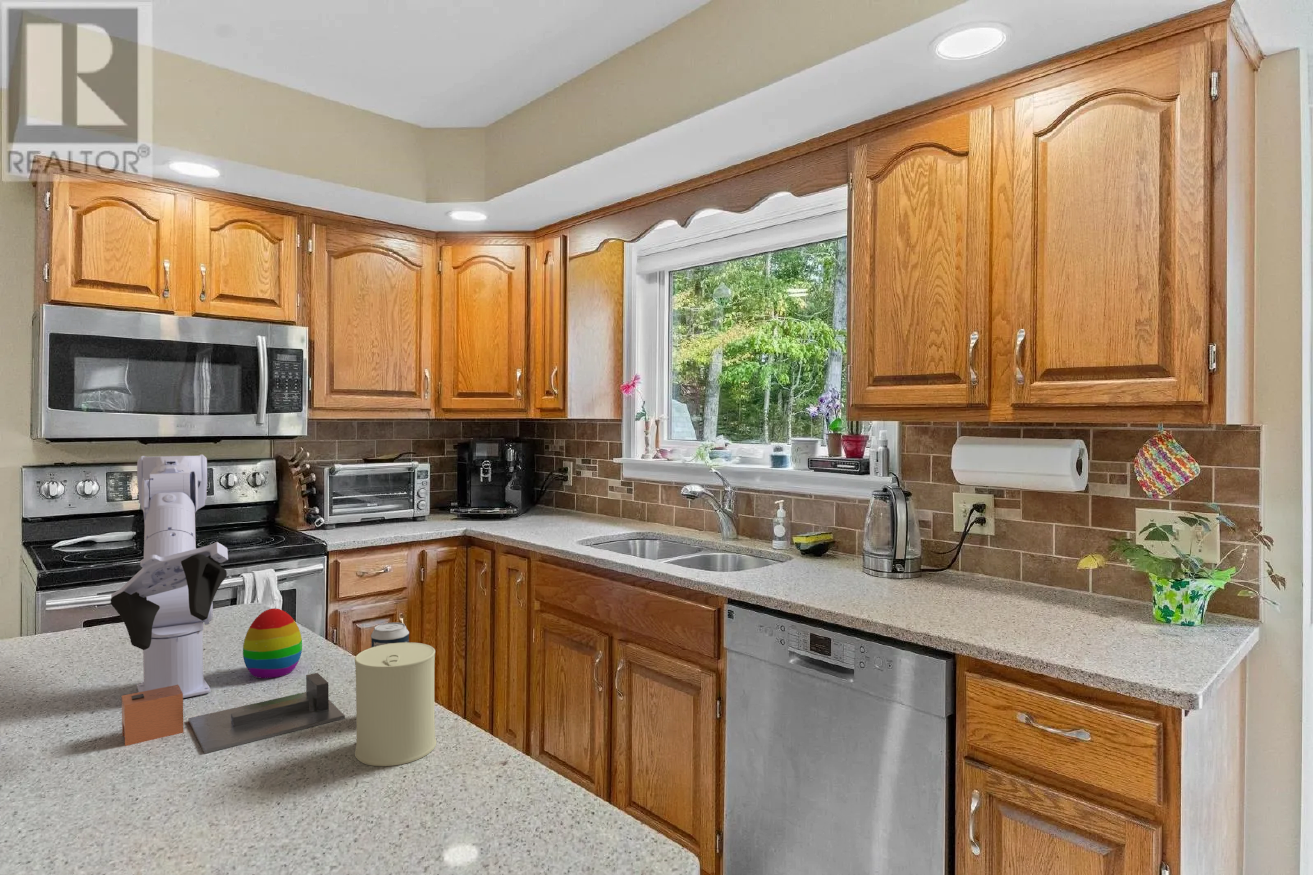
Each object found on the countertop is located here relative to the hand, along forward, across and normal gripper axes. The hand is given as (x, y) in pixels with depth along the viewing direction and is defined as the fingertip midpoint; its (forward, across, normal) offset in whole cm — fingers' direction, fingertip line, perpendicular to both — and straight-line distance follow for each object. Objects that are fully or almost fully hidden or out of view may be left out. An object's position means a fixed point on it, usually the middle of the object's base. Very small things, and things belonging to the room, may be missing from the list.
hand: (169, 631), depth 90 cm
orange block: (+6, -10, +9) cm, 15 cm away
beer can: (+13, +15, +20) cm, 29 cm away
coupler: (+8, +1, +15) cm, 17 cm away
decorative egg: (-6, -5, +27) cm, 29 cm away
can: (+21, +18, +14) cm, 31 cm away
